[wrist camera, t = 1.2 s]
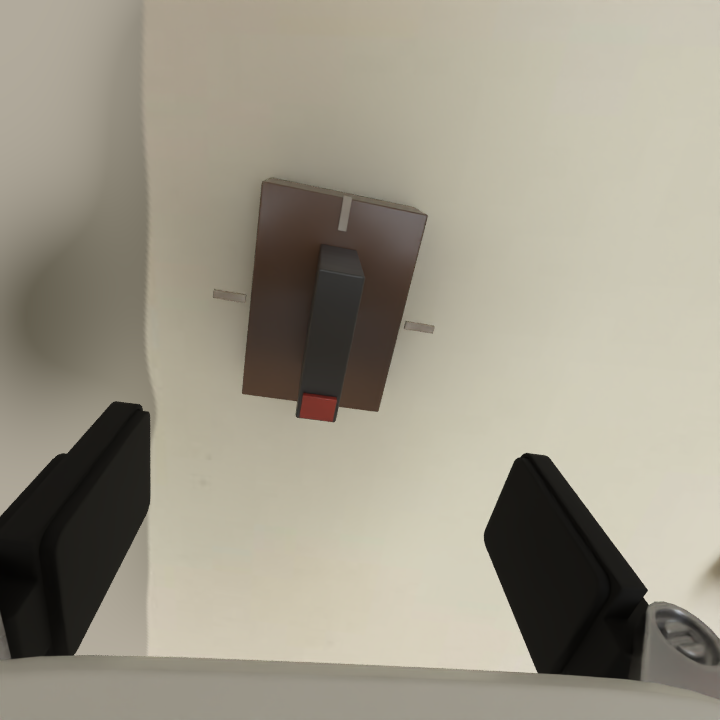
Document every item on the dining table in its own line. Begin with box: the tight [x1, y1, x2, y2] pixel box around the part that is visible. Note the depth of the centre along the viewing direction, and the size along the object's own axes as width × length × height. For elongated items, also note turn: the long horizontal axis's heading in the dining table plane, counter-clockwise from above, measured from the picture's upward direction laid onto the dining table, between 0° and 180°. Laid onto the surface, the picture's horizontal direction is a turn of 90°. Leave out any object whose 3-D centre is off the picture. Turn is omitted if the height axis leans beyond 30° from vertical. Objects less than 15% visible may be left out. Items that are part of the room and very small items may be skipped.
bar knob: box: [296, 244, 365, 422], centre depth 18 cm, size 6×2×5 cm, turn 169°
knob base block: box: [213, 178, 434, 412], centre depth 21 cm, size 10×10×3 cm
